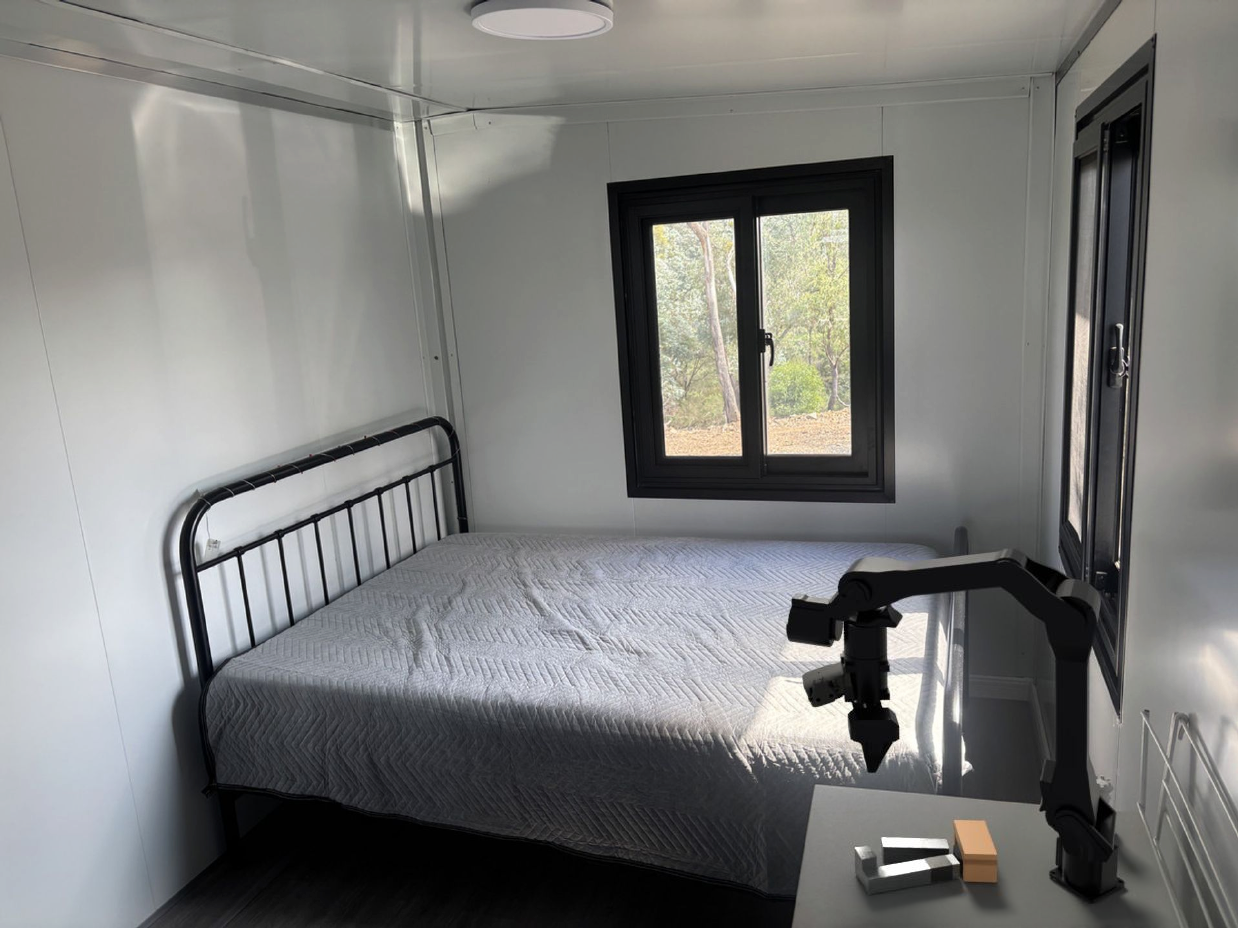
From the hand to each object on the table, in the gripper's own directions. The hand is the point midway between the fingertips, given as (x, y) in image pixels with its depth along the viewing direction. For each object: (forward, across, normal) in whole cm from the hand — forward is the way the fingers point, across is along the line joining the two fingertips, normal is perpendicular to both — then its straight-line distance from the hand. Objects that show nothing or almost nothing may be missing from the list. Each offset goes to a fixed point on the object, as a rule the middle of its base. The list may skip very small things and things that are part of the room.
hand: (867, 754), depth 133 cm
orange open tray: (+12, +8, +13) cm, 19 cm away
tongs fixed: (+12, +8, +7) cm, 16 cm away
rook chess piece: (+12, 0, +31) cm, 33 cm away
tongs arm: (+12, +10, +4) cm, 16 cm away
